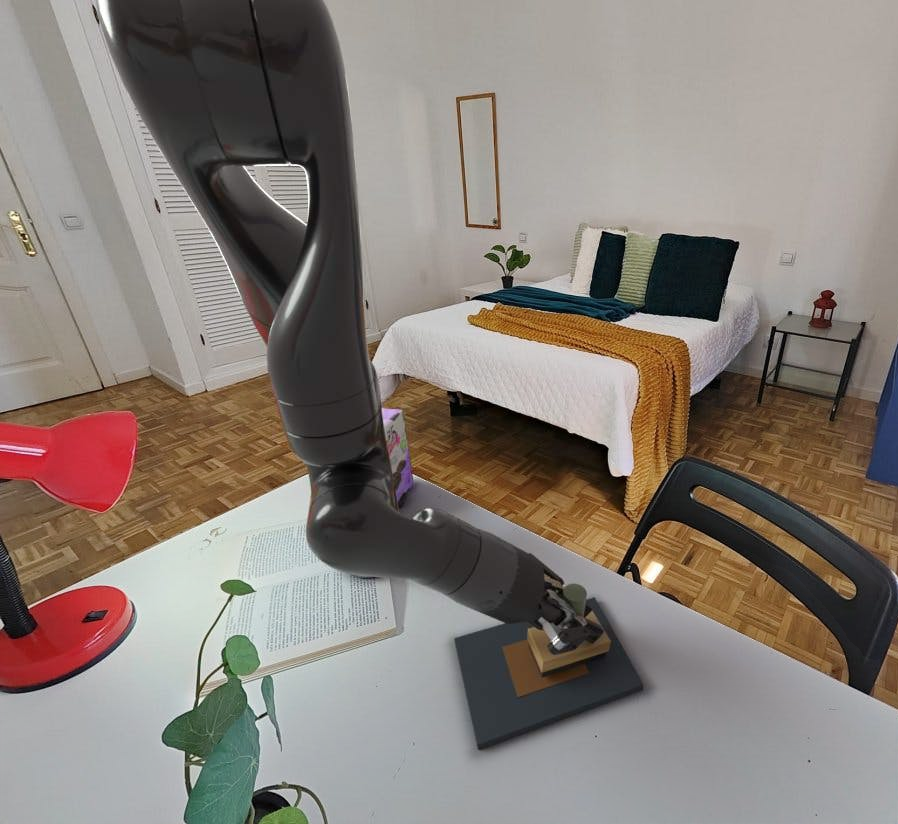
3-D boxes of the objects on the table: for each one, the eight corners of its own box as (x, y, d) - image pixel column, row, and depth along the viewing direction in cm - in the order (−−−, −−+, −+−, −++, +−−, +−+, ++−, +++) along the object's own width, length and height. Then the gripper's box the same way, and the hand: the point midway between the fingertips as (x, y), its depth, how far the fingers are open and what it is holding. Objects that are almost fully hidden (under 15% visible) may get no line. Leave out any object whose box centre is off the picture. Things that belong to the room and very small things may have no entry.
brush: (526, 645, 62) (531, 585, 58) (589, 626, 65) (598, 569, 61) (540, 680, 58) (547, 618, 54) (607, 657, 61) (619, 598, 57)
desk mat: (454, 643, 64) (454, 637, 64) (594, 601, 70) (594, 596, 70) (477, 750, 53) (477, 744, 52) (643, 689, 59) (644, 683, 58)
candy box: (379, 529, 84) (363, 447, 77) (348, 525, 85) (329, 443, 78) (415, 483, 96) (404, 408, 89) (387, 480, 97) (374, 405, 90)
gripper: (534, 600, 46) (640, 650, 55) (497, 509, 57) (589, 563, 66) (481, 655, 46) (594, 695, 56) (455, 555, 58) (552, 602, 67)
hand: (591, 623), depth 61 cm, fingers closed on brush, 3 cm apart
